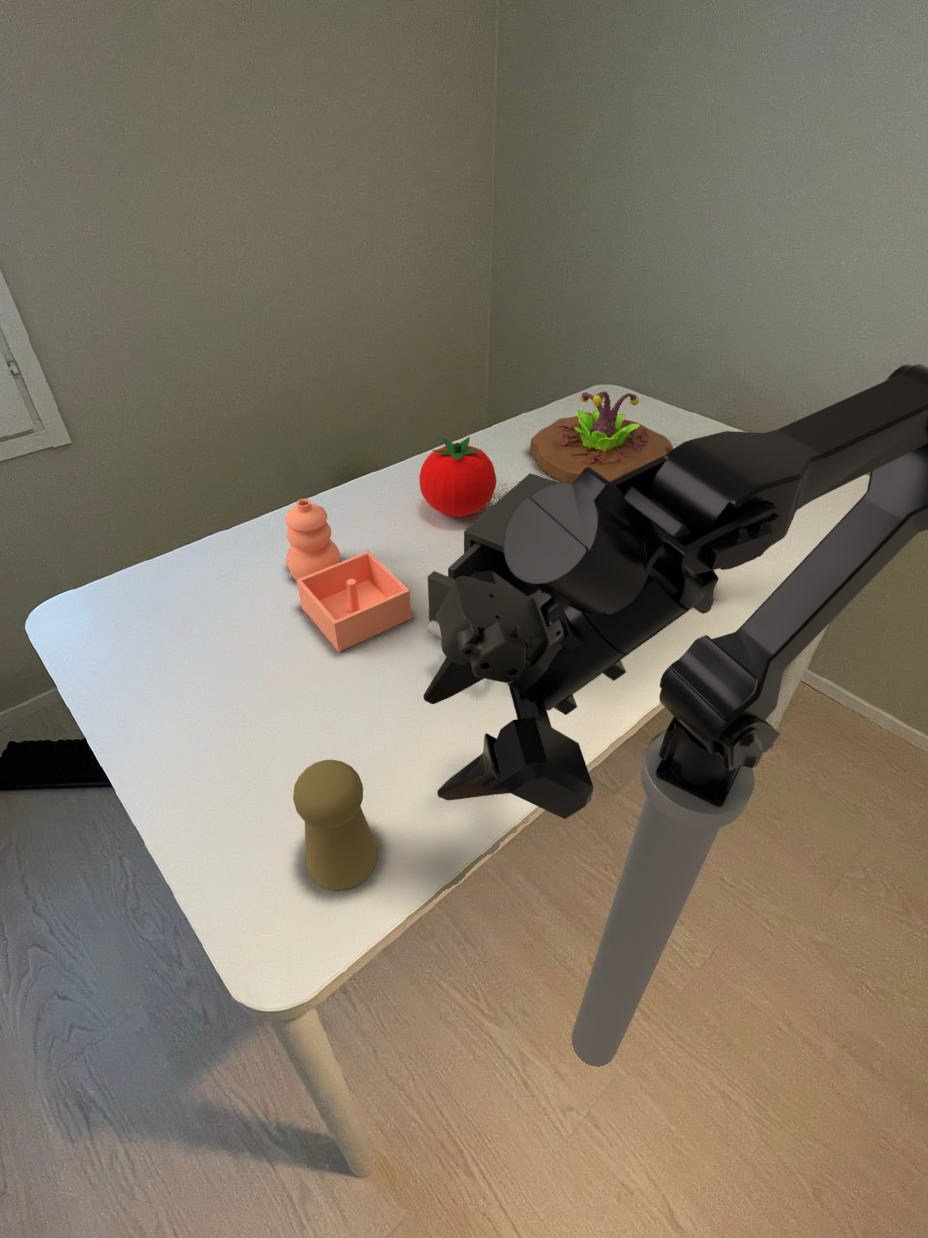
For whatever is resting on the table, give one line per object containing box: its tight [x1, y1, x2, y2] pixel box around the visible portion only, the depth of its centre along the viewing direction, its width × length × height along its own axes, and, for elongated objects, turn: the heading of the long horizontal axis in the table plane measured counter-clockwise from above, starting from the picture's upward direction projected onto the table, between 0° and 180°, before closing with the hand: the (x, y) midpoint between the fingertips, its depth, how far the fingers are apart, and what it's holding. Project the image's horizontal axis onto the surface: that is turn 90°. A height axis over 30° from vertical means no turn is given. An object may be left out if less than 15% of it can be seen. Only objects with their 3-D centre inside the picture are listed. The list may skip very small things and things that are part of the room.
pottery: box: [284, 498, 412, 653], centre depth 81 cm, size 18×10×10 cm, turn 36°
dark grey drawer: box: [426, 542, 539, 640], centre depth 76 cm, size 18×13×8 cm
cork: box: [292, 759, 379, 892], centre depth 56 cm, size 6×6×11 cm
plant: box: [529, 391, 674, 483], centre depth 105 cm, size 20×20×11 cm
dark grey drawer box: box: [463, 472, 559, 554], centre depth 83 cm, size 15×14×10 cm
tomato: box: [418, 436, 497, 518], centre depth 95 cm, size 10×10×10 cm
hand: (434, 745), depth 51 cm, fingers open, 8 cm apart
